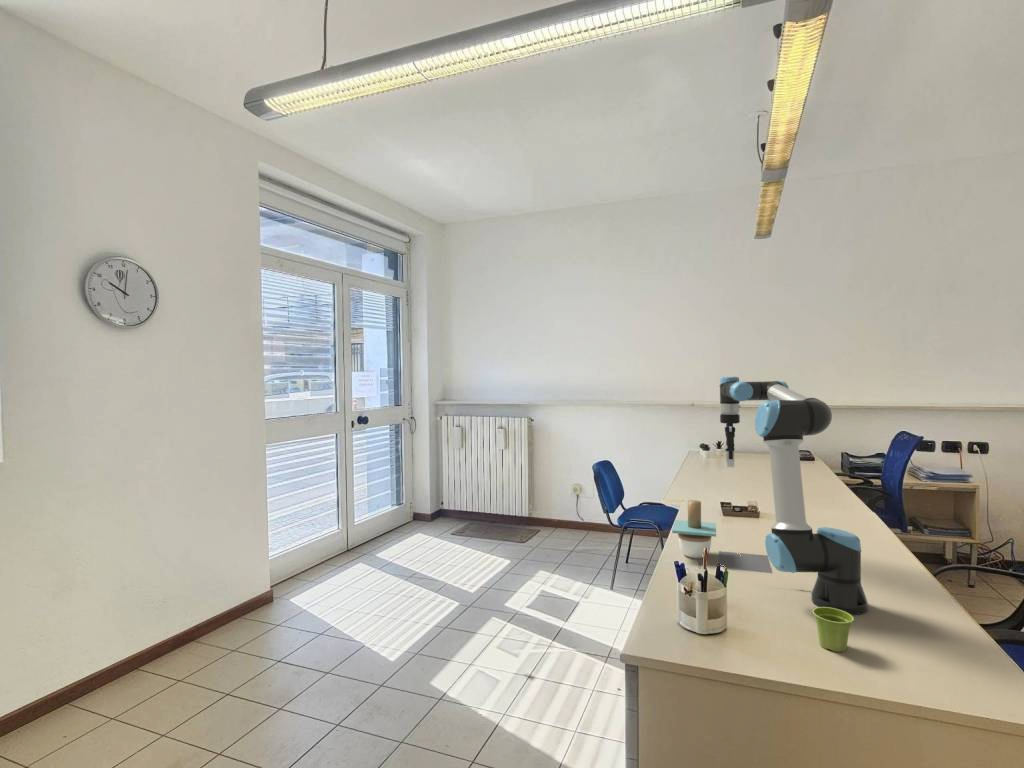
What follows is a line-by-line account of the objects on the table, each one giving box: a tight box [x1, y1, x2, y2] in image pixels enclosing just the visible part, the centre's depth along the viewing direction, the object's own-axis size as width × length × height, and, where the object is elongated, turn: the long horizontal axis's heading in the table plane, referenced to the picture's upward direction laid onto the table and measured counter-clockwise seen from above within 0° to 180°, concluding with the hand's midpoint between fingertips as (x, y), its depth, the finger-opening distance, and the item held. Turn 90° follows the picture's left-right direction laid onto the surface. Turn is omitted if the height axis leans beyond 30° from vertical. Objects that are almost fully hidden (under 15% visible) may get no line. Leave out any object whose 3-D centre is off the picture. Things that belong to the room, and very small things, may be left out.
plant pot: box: [812, 606, 855, 653], centre depth 144 cm, size 9×9×9 cm
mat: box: [718, 550, 773, 574], centre depth 208 cm, size 20×18×1 cm
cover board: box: [671, 499, 717, 538], centre depth 216 cm, size 16×16×11 cm
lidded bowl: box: [677, 533, 712, 559], centre depth 216 cm, size 13×13×11 cm
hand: (730, 464), depth 227 cm, fingers open, 13 cm apart
